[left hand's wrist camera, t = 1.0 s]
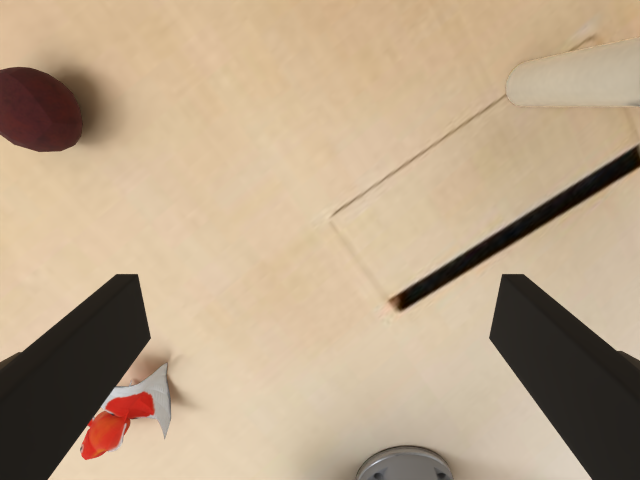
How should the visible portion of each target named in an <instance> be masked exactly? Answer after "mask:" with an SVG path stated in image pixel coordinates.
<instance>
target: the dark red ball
mask: <svg viewBox="0 0 640 480" xmlns="http://www.w3.org/2000/svg"><path fill="white" fill-rule="evenodd" d="M82 126H83V123H82V117H81V112H80V108H79V105H78V103H77V101H76V99H75V97H74V95H73V93H72V92H71V91H70V90H69V89H68V88H67V87H66V86H65V85H64V84H63V83H61V82H60V81H58V80H56V79H55V78H53V77H52V76H50V75H49V74H47V73H44V72H41V71H39V70H36V69H32V68H26V67H13V68H7V69H3V70H0V135H2V136H3V137H4V138H6V139H7V140H9V141H10V142H11V143H13V144H14V145H18V146H21V147H24V148H28V149H31V150H34V151H38V152H51V151H62V150H65V149H67V148H69V147H72V146H74V145H75V144H76V143H77V141H78V140H79V138H80V137H81V132H82Z"/></svg>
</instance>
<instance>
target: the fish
mask: <svg viewBox="0 0 640 480" xmlns="http://www.w3.org/2000/svg"><path fill="white" fill-rule="evenodd" d="M166 374H167V362H166V363H165V364H163V365H162V366H161V367H159V368H158V369H157V370H156V371H155V372H154V373H153V374H152V375H150V376H149V377H148V378H146V379H145V380H143V381H142V382H140V383H139V384H137V385H132V386H131V382H132V380H131V382H130V385H129V386H116V387H115V388H114V389H113V391H112V392H111V393H110V395H109V396H108V398H107V399H106V400H105V402H104V403H103V404H102V406H101V407H102V408H103V409H104V410H106V411H103V412H102V413H100V414H99V415H97V416H96V418H94V417H93V418H92V420H91V421H90V422H89V424H88V425H87V426H89V427H90V429H89V430H88V431H87V434H86V436H85V439H84V441H83V443H82V445H81V449H80V451H81V455H82V457H83V458H84V459H85V460H88V459H92V458H96V457H99V456H101V455H102V454H104V453H105V452H106V451H108V452H112V451H115V450H117V449H118V448H119V447H120V446H121V444H122V442H123V436H124V435H125V433H126V432H127V430H128V428H129V426H130V419H137V418H144V417H147V418H154V419H157V420H158V421H159V423H160V425H161V428H162V430H163V434H164V439H165V437H166V434H167V431H168V427H169V424H170V421H171V400H170V393H169V388H168V382H167V376H166Z"/></svg>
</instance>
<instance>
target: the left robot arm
mask: <svg viewBox="0 0 640 480" xmlns="http://www.w3.org/2000/svg"><path fill="white" fill-rule="evenodd" d="M150 339H151V337H150V332H149V327H148V322H147V317H146V312H145V307H144V302H143V297H142V292H141V287H140V283H139V278H138V274H116V275H115V276H114V277H113V278H111V279H110V280H109V281H108V282H106V283H105V284H104V285H103V286H102V287H100V288H99V289H98V290H97V291H96V292H94V293H93V294H92V295H91V296H90V297H88V298H87V299H86V300H85V301H83V302H82V303H81V304H80V305H79V306H77V307H76V308H75V309H74V310H73V311H71V312H70V313H69V314H68V315H66V316H65V317H64V318H63V319H62V320H60V321H59V322H58V323H57V324H56V325H54V326H53V327H52V328H51V329H49V330H48V331H47V332H46V333H45V334H43V335H42V336H41V337H40V338H39V339H37V340H36V341H35V342H34V343H32V344H31V345H30V346H29V347H28V348H26V349H25V350H24V351H23V352H18V353H16V354H15V355H13V356H11V357H9V358H7V359H5V360H3V361H2V362H0V480H48V478H49V477H50V476H51V474H52V473H53V472H54V470H55V469H56V467H57V466H58V465H59V463H60V462H61V461H62V459H63V458H64V456H65V455H66V454H67V452H68V451H69V450H70V448H71V447H72V446H73V444H74V443H75V441H76V440H77V439H78V437H79V436H80V435H81V433H82V432H83V430H84V429H85V428H86V426H87V425H88V424H89V422H90V421H91V420H92V418H93V417H94V415H95V414H96V413H97V411H98V410H99V409H100V407H101V406H102V404H103V403H104V402H105V400H106V399H107V398H108V396H109V395H110V393H111V392H112V391H113V389H114V388H115V387H116V385H117V384H118V383H119V381H120V380H121V378H122V377H123V376H124V374H125V373H126V372H127V370H128V369H129V367H130V366H131V365H132V363H133V362H134V361H135V359H136V358H137V357H138V355H139V354H140V352H141V351H142V350H143V348H144V347H145V346H146V344H147V343H148V341H149V340H150ZM489 339H490V340H491V341H492V343H493V344H494V346H495V347H496V348H497V350H498V351H499V352H500V354H501V355H502V357H503V358H504V359H505V361H506V362H507V363H508V365H509V366H510V367H511V369H512V370H513V372H514V373H515V374H516V376H517V377H518V378H519V380H520V381H521V383H522V384H523V385H524V387H525V388H526V389H527V391H528V392H529V393H530V395H531V396H532V398H533V399H534V400H535V402H536V403H537V404H538V406H539V407H540V409H541V410H542V411H543V413H544V414H545V415H546V417H547V418H548V420H549V421H550V422H551V424H552V425H553V426H554V428H555V429H556V430H557V432H558V433H559V435H560V436H561V437H562V439H563V440H564V441H565V443H566V444H567V446H568V447H569V448H570V450H571V451H572V452H573V454H574V455H575V456H576V458H577V459H578V461H579V462H580V463H581V465H582V466H583V467H584V469H585V470H586V472H587V473H588V474H589V476H590V477H591V478H592V480H640V361H639V360H637V359H636V358H634V357H632V356H630V355H628V354H626V353H625V352H623V351H616V350H615V349H614V348H612V347H611V346H610V345H609V344H608V343H606V342H605V341H604V340H603V339H601V338H600V337H599V336H598V335H597V334H595V333H594V332H593V331H592V330H591V329H589V328H588V327H587V326H586V325H584V324H583V323H582V322H581V321H580V320H578V319H577V318H576V317H575V316H574V315H572V314H571V313H570V312H569V311H567V310H566V309H565V308H564V307H563V306H561V305H560V304H559V303H558V302H557V301H555V300H554V299H553V298H552V297H550V296H549V295H548V294H547V293H546V292H544V291H543V290H542V289H541V288H540V287H538V286H537V285H536V284H535V283H534V282H532V281H531V280H530V279H529V278H527V277H526V276H525V275H524V274H502V278H501V283H500V287H499V292H498V297H497V302H496V307H495V312H494V317H493V322H492V327H491V332H490V337H489ZM356 480H454V479H453V476H452V474H451V471H450V468H449V466H448V464H447V463H446V462H445V460H444V459H443V458H442V457H440V456H439V455H437V454H436V453H434V452H432V451H429V450H427V449H423V448H418V447H396V448H391V449H388V450H385V451H382V452H380V453H378V454H376V455H374V456H372V457H371V458H369V459H368V460H367V461H366V462H365V463H364V464H363V465H362V466H361V468H360V469H359V471H358V473H357V476H356Z"/></svg>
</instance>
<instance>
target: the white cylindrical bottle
mask: <svg viewBox="0 0 640 480" xmlns="http://www.w3.org/2000/svg"><path fill="white" fill-rule="evenodd" d="M506 94H507V97H508V99H509V100H510V102H511V103H512V104H514V105H516V106H519V107H640V36H638V37H633V38H629V39H624V40H620V41H615V42H611V43H606V44H601V45H597V46H592V47H588V48H583V49H579V50H574V51H570V52H565V53H561V54H556V55H552V56H547V57H543V58H538V59H533V60H529V61H525V62H523V63H521V64H519V65H518V66H516V67H515V68H514V69H513V70H512V72H511V73H510V75H509V77H508V79H507V82H506Z"/></svg>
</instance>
